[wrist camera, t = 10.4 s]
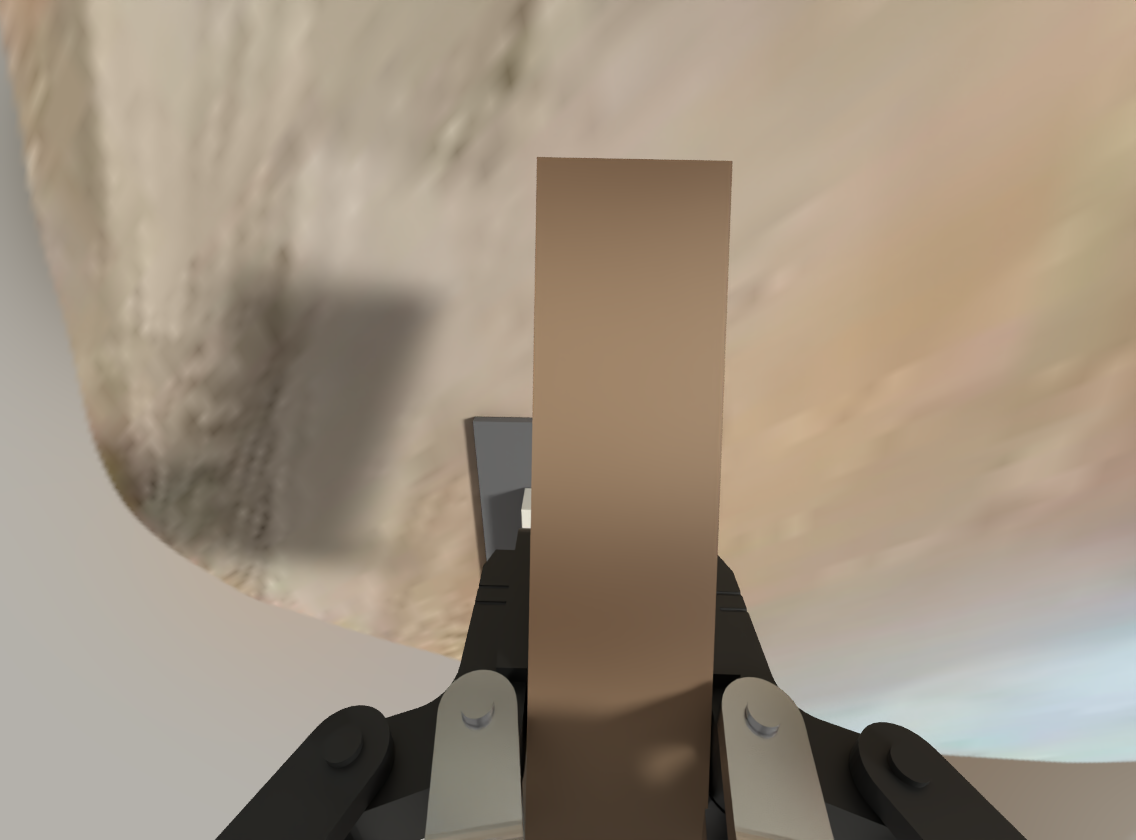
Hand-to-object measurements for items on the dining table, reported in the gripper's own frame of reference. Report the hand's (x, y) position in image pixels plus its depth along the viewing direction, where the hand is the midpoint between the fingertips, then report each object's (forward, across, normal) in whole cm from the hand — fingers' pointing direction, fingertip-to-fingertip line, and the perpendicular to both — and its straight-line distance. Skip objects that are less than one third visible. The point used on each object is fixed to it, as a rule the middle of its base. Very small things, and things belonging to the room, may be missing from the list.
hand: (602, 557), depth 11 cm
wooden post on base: (+2, 0, 0) cm, 2 cm away
